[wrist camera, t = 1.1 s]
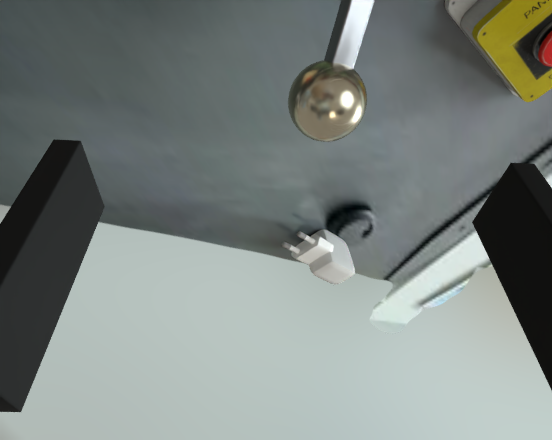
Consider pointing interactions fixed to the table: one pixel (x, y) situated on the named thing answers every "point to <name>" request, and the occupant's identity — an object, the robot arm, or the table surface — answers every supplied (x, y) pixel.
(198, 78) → the table surface
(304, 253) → the power adapter
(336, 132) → the lever switch
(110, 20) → the table surface
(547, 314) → the robot arm
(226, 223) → the table surface
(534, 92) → the emergency button
